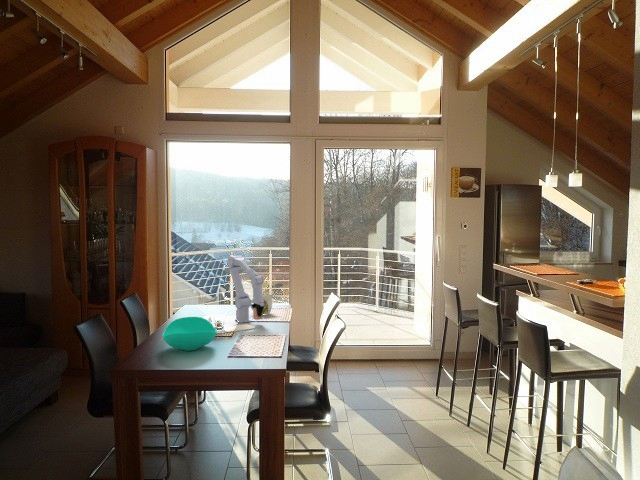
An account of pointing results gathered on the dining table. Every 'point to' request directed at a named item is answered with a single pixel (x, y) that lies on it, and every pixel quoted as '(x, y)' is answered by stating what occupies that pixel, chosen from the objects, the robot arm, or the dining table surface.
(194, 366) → the dining table surface
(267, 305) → the pitcher
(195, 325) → the table top decor
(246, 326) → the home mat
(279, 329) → the dining table surface
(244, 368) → the dining table surface
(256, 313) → the block
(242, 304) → the robot arm
